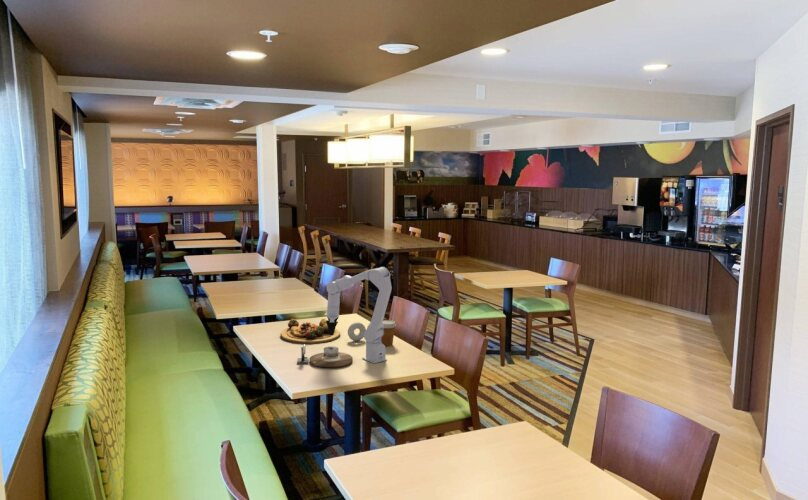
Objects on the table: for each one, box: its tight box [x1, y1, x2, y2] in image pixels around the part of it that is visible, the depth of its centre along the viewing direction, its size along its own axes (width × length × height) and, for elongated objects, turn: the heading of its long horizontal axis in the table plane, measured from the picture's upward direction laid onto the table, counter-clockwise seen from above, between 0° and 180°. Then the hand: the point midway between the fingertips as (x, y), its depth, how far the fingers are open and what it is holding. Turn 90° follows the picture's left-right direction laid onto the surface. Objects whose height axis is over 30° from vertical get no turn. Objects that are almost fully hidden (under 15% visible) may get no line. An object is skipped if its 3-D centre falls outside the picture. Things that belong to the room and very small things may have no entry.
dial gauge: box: [296, 344, 310, 365], centre depth 271 cm, size 5×5×8 cm
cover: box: [323, 346, 339, 357], centre depth 279 cm, size 7×7×3 cm
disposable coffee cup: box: [381, 319, 397, 347], centre depth 302 cm, size 10×10×12 cm
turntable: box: [309, 351, 354, 368], centre depth 273 cm, size 20×20×1 cm
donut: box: [347, 321, 367, 342], centre depth 308 cm, size 10×4×10 cm, turn 113°
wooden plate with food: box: [280, 318, 341, 345], centre depth 317 cm, size 32×32×8 cm
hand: (331, 332), depth 287 cm, fingers open, 7 cm apart
